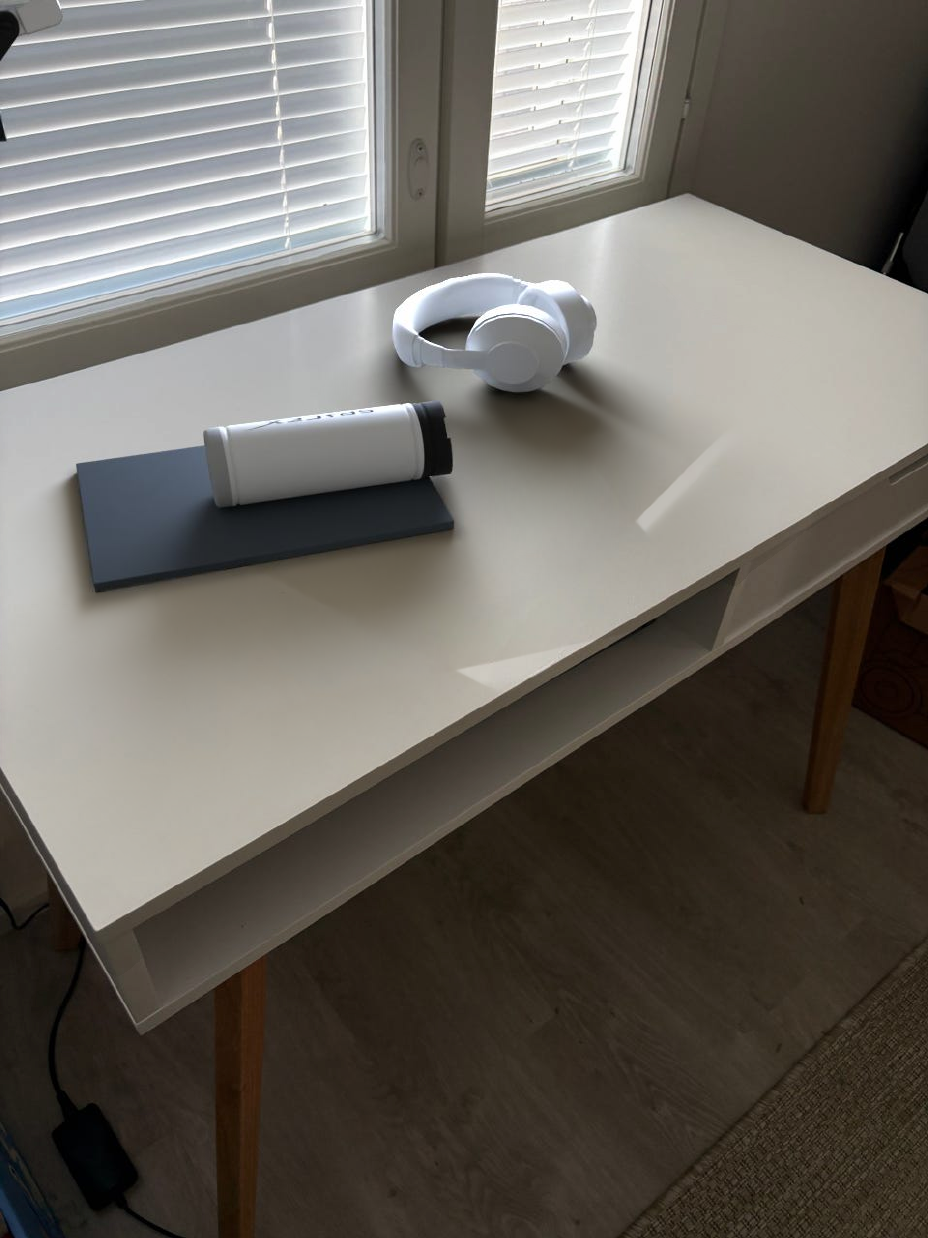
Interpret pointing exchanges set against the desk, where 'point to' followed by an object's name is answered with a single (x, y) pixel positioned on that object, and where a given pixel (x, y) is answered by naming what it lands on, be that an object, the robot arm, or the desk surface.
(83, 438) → the desk surface
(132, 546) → the mat
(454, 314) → the headphones
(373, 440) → the travel mug
